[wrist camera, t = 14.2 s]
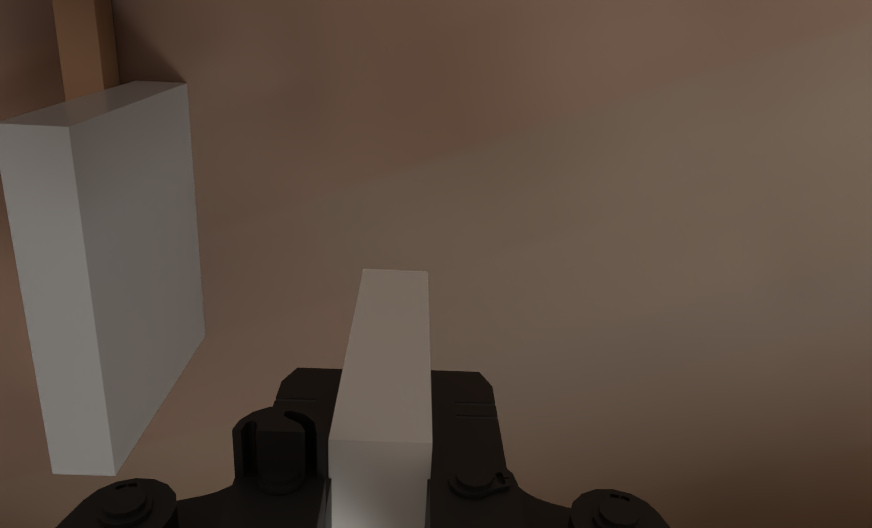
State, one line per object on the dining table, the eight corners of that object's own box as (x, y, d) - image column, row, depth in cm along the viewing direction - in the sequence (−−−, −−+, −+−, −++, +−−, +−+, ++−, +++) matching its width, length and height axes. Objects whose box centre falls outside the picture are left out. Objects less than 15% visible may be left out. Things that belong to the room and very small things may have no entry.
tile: (205, 336, 26) (115, 476, 18) (158, 334, 26) (48, 473, 18) (187, 82, 22) (68, 126, 15) (133, 80, 22) (-13, 123, 15)
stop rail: (152, 394, 26) (140, 412, 25) (120, 393, 26) (106, 410, 25) (110, -5, 21) (92, -5, 20) (70, -7, 21) (51, -7, 20)
